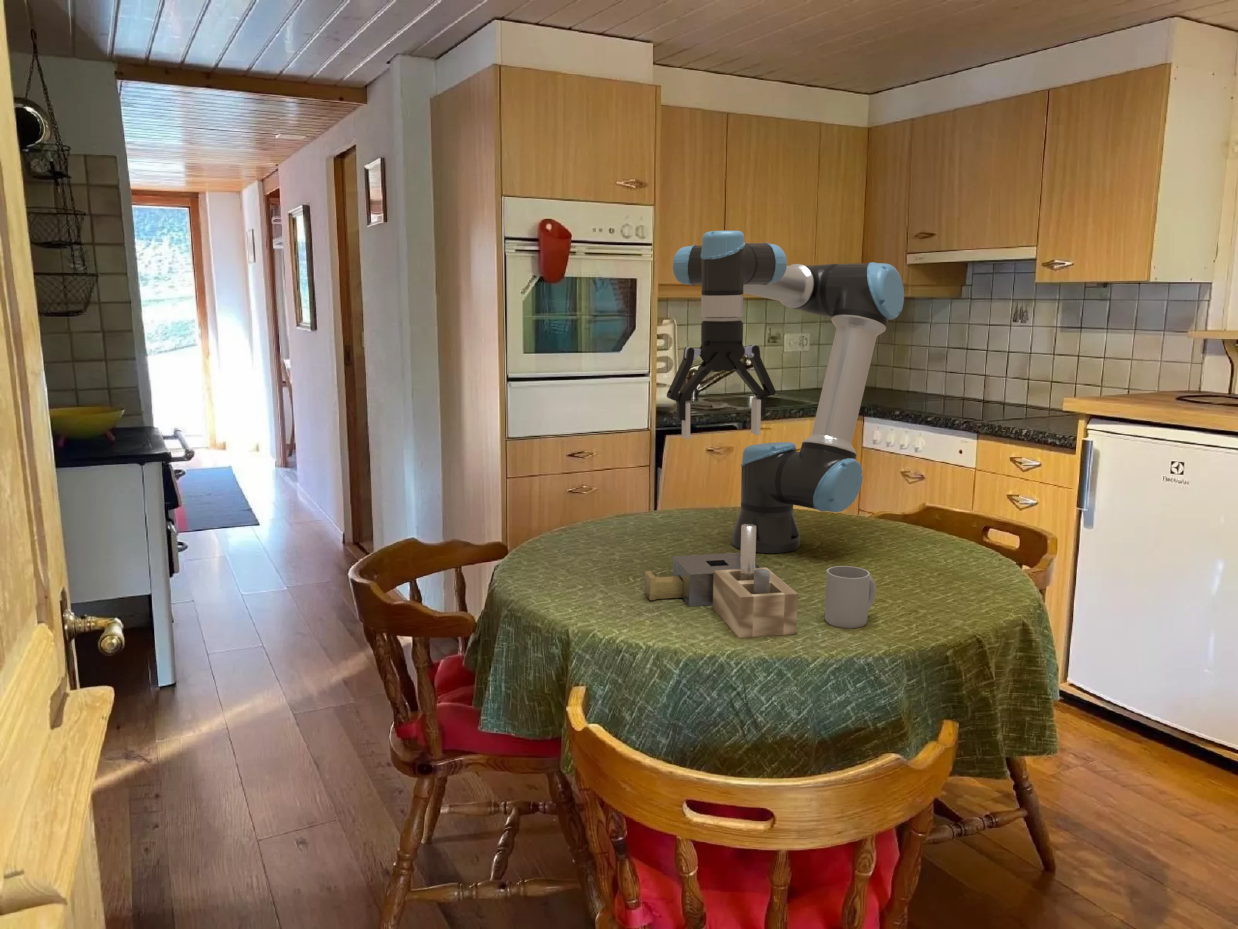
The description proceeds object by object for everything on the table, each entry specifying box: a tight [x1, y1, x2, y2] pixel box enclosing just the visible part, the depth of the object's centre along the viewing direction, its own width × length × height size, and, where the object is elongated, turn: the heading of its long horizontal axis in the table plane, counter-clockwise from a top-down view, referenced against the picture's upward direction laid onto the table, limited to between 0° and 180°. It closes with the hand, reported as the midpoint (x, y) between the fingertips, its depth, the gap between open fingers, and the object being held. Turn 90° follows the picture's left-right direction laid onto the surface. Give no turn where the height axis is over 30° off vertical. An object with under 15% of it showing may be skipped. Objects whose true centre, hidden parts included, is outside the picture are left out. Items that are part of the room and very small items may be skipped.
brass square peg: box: [644, 570, 683, 601], centre depth 173 cm, size 10×4×4 cm, turn 101°
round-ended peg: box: [740, 524, 757, 581], centre depth 163 cm, size 3×3×16 cm
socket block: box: [672, 552, 761, 607], centre depth 174 cm, size 14×12×6 cm
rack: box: [712, 567, 799, 639], centre depth 160 cm, size 10×15×10 cm, turn 11°
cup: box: [824, 565, 877, 629], centre depth 160 cm, size 7×10×9 cm
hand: (721, 436), depth 170 cm, fingers open, 13 cm apart
